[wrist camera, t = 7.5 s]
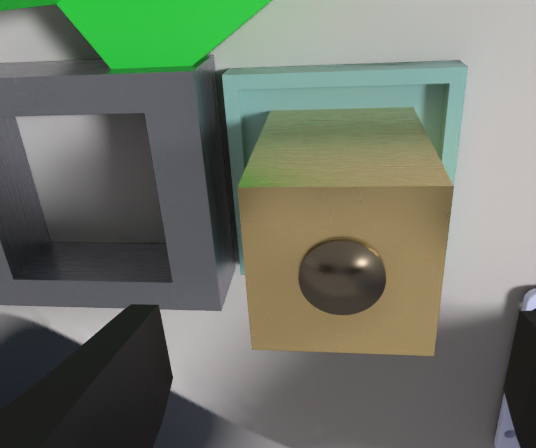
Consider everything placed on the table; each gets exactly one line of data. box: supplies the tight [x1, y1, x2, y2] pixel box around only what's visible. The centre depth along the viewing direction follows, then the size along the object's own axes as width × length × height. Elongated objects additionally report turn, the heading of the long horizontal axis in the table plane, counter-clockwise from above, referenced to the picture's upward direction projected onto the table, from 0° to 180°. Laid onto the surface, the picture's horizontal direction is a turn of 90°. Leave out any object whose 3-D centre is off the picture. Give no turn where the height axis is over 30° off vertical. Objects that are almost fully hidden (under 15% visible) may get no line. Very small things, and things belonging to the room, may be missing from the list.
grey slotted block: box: [0, 55, 235, 311], centre depth 20 cm, size 9×14×3 cm, turn 93°
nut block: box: [237, 107, 454, 356], centre depth 16 cm, size 5×5×7 cm
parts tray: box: [222, 60, 468, 275], centre depth 19 cm, size 8×8×1 cm
